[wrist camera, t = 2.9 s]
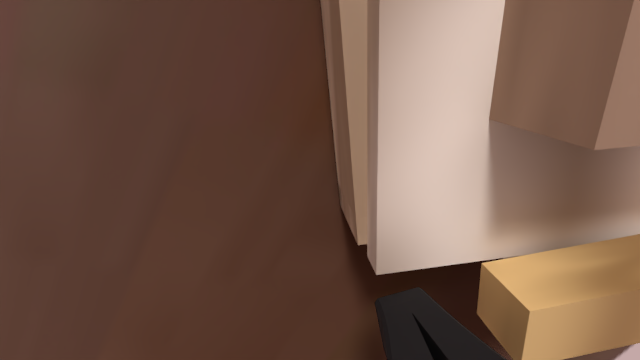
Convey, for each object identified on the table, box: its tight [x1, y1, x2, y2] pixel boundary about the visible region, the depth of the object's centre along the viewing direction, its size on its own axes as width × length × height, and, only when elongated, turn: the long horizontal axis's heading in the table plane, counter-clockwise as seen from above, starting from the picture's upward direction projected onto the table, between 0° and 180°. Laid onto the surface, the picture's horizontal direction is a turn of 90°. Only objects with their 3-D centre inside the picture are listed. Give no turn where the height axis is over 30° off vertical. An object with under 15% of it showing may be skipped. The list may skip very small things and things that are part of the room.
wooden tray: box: [320, 0, 367, 245], centre depth 10 cm, size 14×12×3 cm
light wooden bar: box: [477, 234, 640, 360], centre depth 10 cm, size 7×2×2 cm, turn 97°
